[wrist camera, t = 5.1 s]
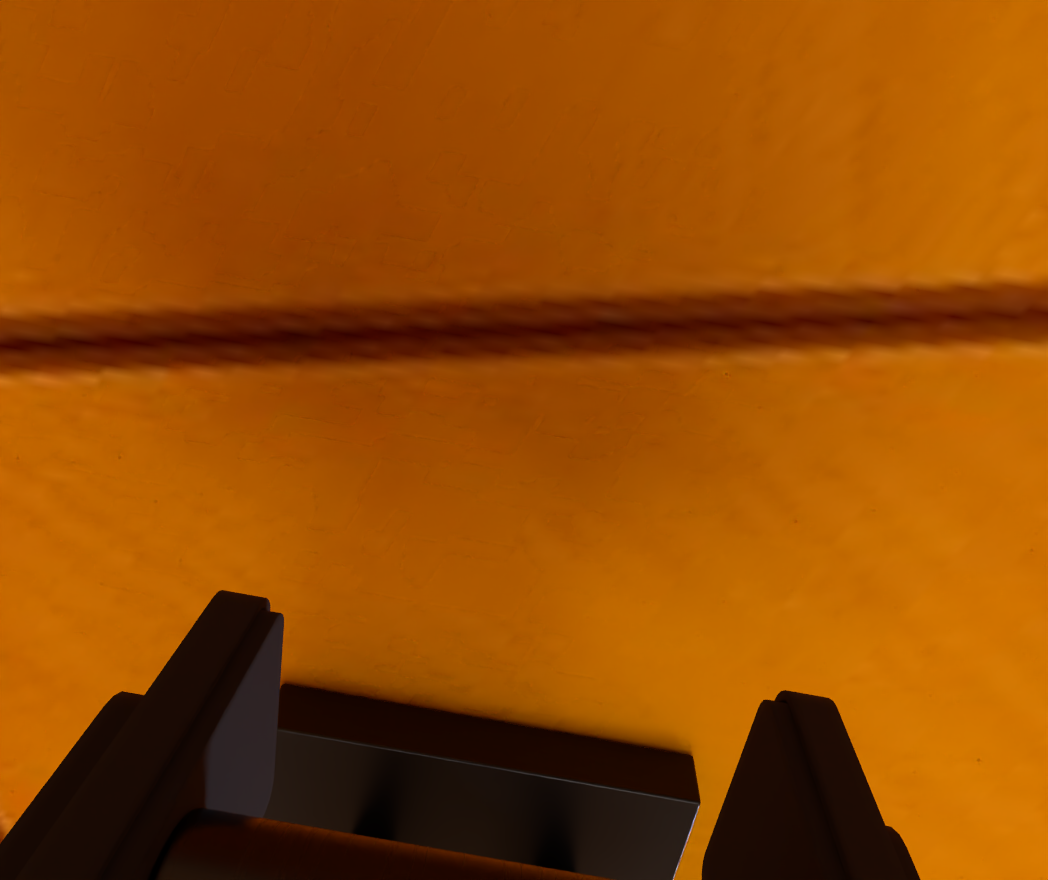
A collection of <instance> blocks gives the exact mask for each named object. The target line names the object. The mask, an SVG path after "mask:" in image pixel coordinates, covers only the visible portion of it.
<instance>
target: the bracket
mask: <svg viewBox="0 0 1048 880" xmlns="http://www.w3.org/2000/svg"><path fill="white" fill-rule="evenodd" d="M700 803H701V802H700V796H699V790H698V783H697V777H696V771H695V765H694V759H693V756H691V755H685V754H680V753H674V752H669V751H663V750H657V749H652V748H646V747H640V746H635V745H629V744H623V743H618V742H612V741H606V740H601V739H595V738H589V737H584V736H578V735H572V734H567V733H561V732H555V731H550V730H544V729H538V728H533V727H527V726H521V725H516V724H510V723H504V722H499V721H493V720H487V719H482V718H476V717H470V716H465V715H459V714H453V713H448V712H442V711H436V710H431V709H425V708H419V707H414V706H408V705H403V704H397V703H391V702H386V701H380V700H374V699H369V698H363V697H357V696H352V695H346V694H340V693H335V692H329V691H323V690H318V689H312V688H306V687H301V686H295V685H289V684H283V685H282V686H281V688H280V692H279V707H278V723H277V739H276V755H275V771H274V782H273V787H272V792H271V796H270V800H269V803H268V806H267V809H266V811H265V814H264V816H263V818H265V819H271V820H277V821H283V822H288V823H294V824H300V825H305V826H311V827H317V828H323V829H328V830H334V831H340V832H346V833H351V834H357V835H363V836H369V837H374V838H380V839H386V840H391V841H397V842H403V843H409V844H414V845H420V846H426V847H432V848H437V849H443V850H449V851H454V852H460V853H466V854H472V855H477V856H483V857H489V858H495V859H500V860H506V861H512V862H518V863H523V864H529V865H535V866H540V867H546V868H552V869H558V870H563V871H569V872H575V873H581V874H586V875H592V876H598V877H604V878H609V879H615V880H673V879H674V876H675V873H676V871H677V868H678V865H679V862H680V859H681V857H682V854H683V851H684V848H685V845H686V843H687V840H688V837H689V834H690V831H691V829H692V826H693V823H694V820H695V817H696V815H697V812H698V809H699V806H700Z"/></svg>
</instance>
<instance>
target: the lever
mask: <svg viewBox="0 0 1048 880" xmlns="http://www.w3.org/2000/svg"><path fill="white" fill-rule="evenodd" d="M149 880H615V879H609V878H604V877H598V876H592V875H586V874H581V873H575V872H569V871H563V870H558V869H552V868H546V867H540V866H535V865H529V864H523V863H518V862H512V861H506V860H500V859H495V858H489V857H483V856H477V855H472V854H466V853H460V852H454V851H449V850H443V849H437V848H432V847H426V846H420V845H414V844H409V843H403V842H397V841H391V840H386V839H380V838H374V837H369V836H363V835H357V834H351V833H346V832H340V831H334V830H328V829H323V828H317V827H311V826H305V825H300V824H294V823H288V822H283V821H277V820H271V819H265V818H260V817H254V816H248V815H242V814H237V813H231V812H225V811H219V810H214V809H208V808H198V809H195V810H192V811H191V812H189V813H188V814H187V815H186V816H185V817H184V818H183V819H182V821H181V822H180V823H179V824H178V826H177V827H176V829H175V830H174V832H173V833H172V835H171V836H170V838H169V840H168V842H167V843H166V845H165V847H164V849H163V851H162V853H161V854H160V856H159V858H158V860H157V863H156V865H155V867H154V869H153V871H152V874H151V876H150V878H149Z"/></svg>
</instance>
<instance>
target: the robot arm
mask: <svg viewBox="0 0 1048 880" xmlns="http://www.w3.org/2000/svg"><path fill="white" fill-rule="evenodd" d="M283 629H284V617H283V614H281V613H276V612H270V603H269V600H268V599H267V598H263V597H258V596H252V595H246V594H241V593H235V592H229V591H224V590H221V591H219V592H217V594H216V595H215V596H214V597H213V598H212V600H211V601H210V603H209V604H208V605H207V607H206V608H205V610H204V611H203V613H202V614H201V615H200V617H199V618H198V620H197V621H196V623H195V624H194V625H193V627H192V628H191V630H190V631H189V633H188V634H187V635H186V637H185V638H184V640H183V641H182V642H181V644H180V645H179V647H178V648H177V650H176V651H175V652H174V654H173V655H172V657H171V658H170V660H169V661H168V662H167V664H166V665H165V667H164V668H163V670H162V671H161V672H160V674H159V675H158V677H157V678H156V679H155V681H154V682H153V684H152V685H151V687H150V688H149V689H148V691H147V692H146V694H145V695H140V694H134V693H128V692H123V691H122V692H120V693H118V694H116V695H114V696H113V697H112V698H111V699H110V700H109V701H108V703H107V704H106V705H105V706H104V707H103V708H102V710H101V711H100V712H99V714H98V715H97V716H96V718H95V719H94V720H93V722H92V723H91V724H90V726H89V727H88V728H87V730H86V731H85V732H84V733H83V735H82V736H81V737H80V739H79V740H78V741H77V743H76V744H75V745H74V747H73V748H72V749H71V751H70V752H69V753H68V755H67V756H66V757H65V759H64V760H63V761H62V763H61V764H60V765H59V767H58V768H57V769H56V771H55V772H54V773H53V775H52V776H51V777H50V779H49V780H48V781H47V783H46V784H45V785H44V786H43V788H42V789H41V790H40V792H39V793H38V794H37V796H36V797H35V798H34V800H33V801H32V802H31V804H30V805H29V806H28V808H27V809H26V810H25V812H24V813H23V814H22V816H21V817H20V818H19V820H18V821H17V822H16V824H15V825H14V826H13V828H12V829H11V830H10V832H9V833H8V834H7V836H6V837H5V838H4V840H3V841H2V842H1V843H0V880H149V878H150V876H151V874H152V871H153V869H154V867H155V865H156V863H157V860H158V858H159V856H160V854H161V853H162V851H163V849H164V847H165V845H166V843H167V842H168V840H169V838H170V836H171V835H172V833H173V832H174V830H175V829H176V827H177V826H178V824H179V823H180V822H181V821H182V819H183V818H184V817H185V816H186V815H187V814H188V813H189V812H191V811H192V810H195V809H198V808H208V809H214V810H219V811H225V812H231V813H237V814H242V815H248V816H254V817H260V818H263V816H264V814H265V811H266V809H267V806H268V803H269V800H270V796H271V792H272V787H273V782H274V771H275V755H276V739H277V723H278V707H279V692H280V676H281V660H282V644H283ZM702 880H920V878H919V875H918V873H917V871H916V868H915V866H914V864H913V861H912V859H911V857H910V854H909V852H908V850H907V847H906V845H905V844H904V842H903V840H902V838H901V837H900V835H899V834H898V833H897V832H896V831H895V830H894V829H893V828H892V827H889V826H885V824H884V821H883V819H882V816H881V814H880V812H879V809H878V807H877V804H876V802H875V799H874V797H873V794H872V792H871V790H870V787H869V785H868V782H867V780H866V777H865V775H864V772H863V770H862V768H861V765H860V763H859V760H858V758H857V755H856V753H855V750H854V748H853V746H852V743H851V741H850V738H849V736H848V733H847V731H846V728H845V726H844V724H843V721H842V719H841V716H840V714H839V711H838V709H837V707H836V705H835V703H834V702H833V701H832V700H831V699H829V698H825V697H820V696H814V695H808V694H803V693H797V692H791V691H786V690H785V691H781V692H780V693H779V694H778V695H777V697H776V699H775V701H771V700H763V701H762V703H761V704H760V706H759V708H758V711H757V713H756V716H755V719H754V722H753V724H752V727H751V730H750V732H749V735H748V738H747V741H746V743H745V746H744V749H743V751H742V754H741V757H740V760H739V762H738V765H737V768H736V770H735V773H734V776H733V779H732V781H731V784H730V787H729V790H728V792H727V795H726V798H725V800H724V803H723V806H722V809H721V811H720V814H719V817H718V819H717V822H716V825H715V828H714V830H713V833H712V836H711V838H710V841H709V844H708V847H707V849H706V852H705V856H704V860H703V866H702Z"/></svg>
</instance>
